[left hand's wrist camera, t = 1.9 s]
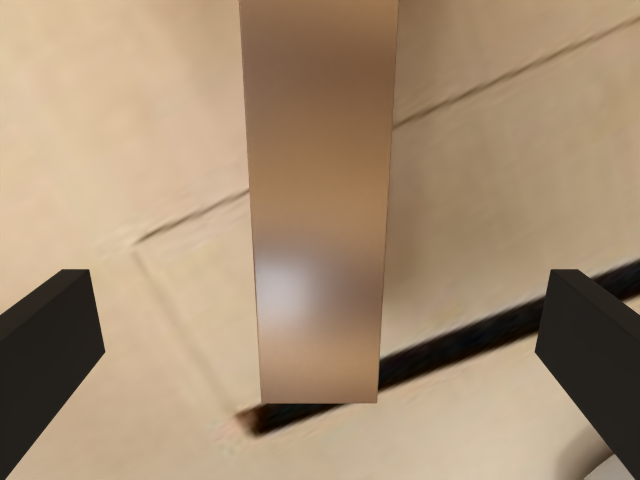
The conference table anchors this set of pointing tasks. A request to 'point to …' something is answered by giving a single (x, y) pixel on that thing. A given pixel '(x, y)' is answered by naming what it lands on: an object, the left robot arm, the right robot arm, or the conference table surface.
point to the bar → (319, 190)
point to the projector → (610, 471)
